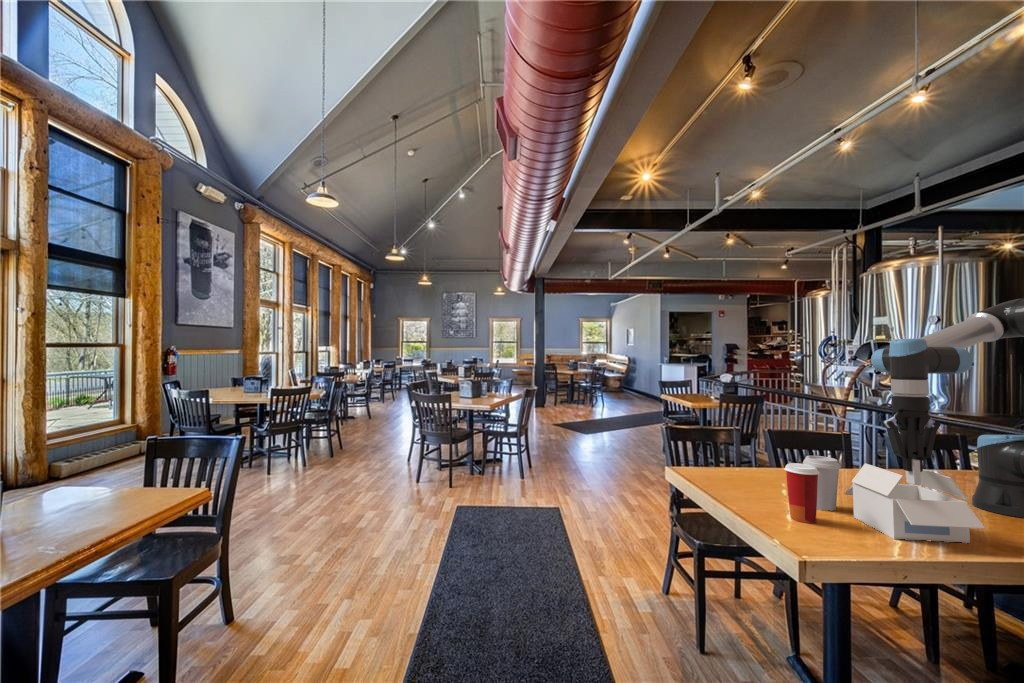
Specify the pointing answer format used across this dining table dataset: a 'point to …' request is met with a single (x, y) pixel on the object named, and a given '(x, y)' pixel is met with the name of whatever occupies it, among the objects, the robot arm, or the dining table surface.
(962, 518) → the white carton
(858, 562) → the dining table surface
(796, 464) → the coffee cup
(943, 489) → the flap
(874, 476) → the flap
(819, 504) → the coffee cup
